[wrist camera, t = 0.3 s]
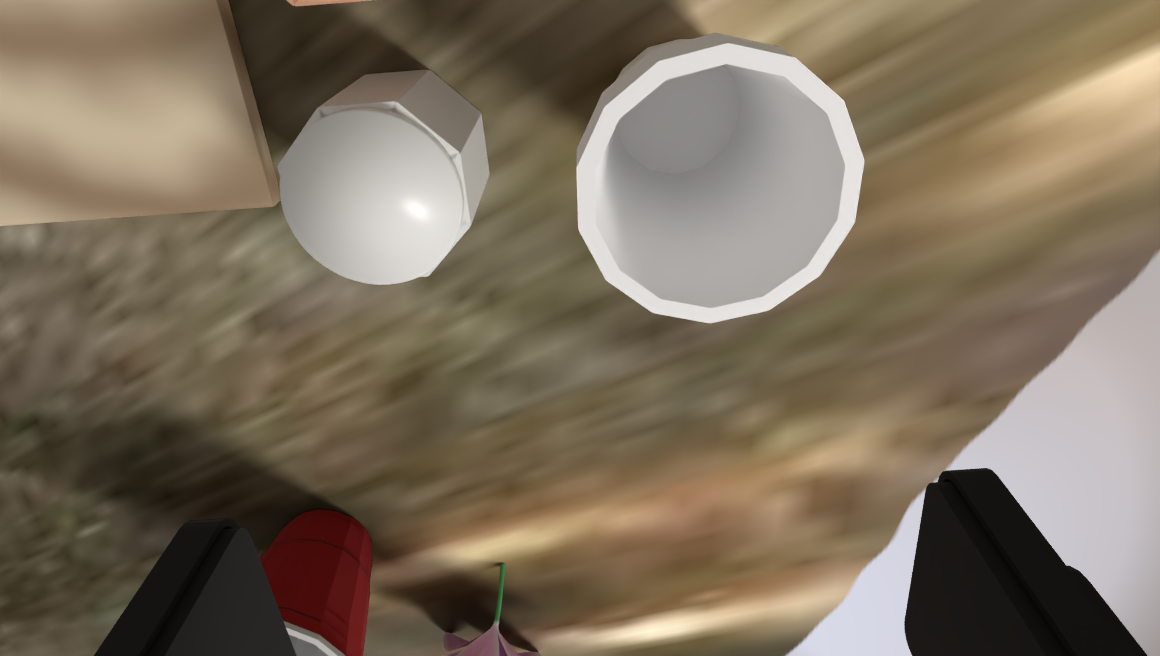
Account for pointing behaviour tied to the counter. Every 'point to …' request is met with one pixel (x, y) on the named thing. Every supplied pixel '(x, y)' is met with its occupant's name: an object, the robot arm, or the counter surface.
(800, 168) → the foam cup
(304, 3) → the pink acorn nut
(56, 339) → the counter surface
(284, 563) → the plastic cup
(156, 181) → the oak board
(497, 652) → the lily
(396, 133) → the white domed cap nut
